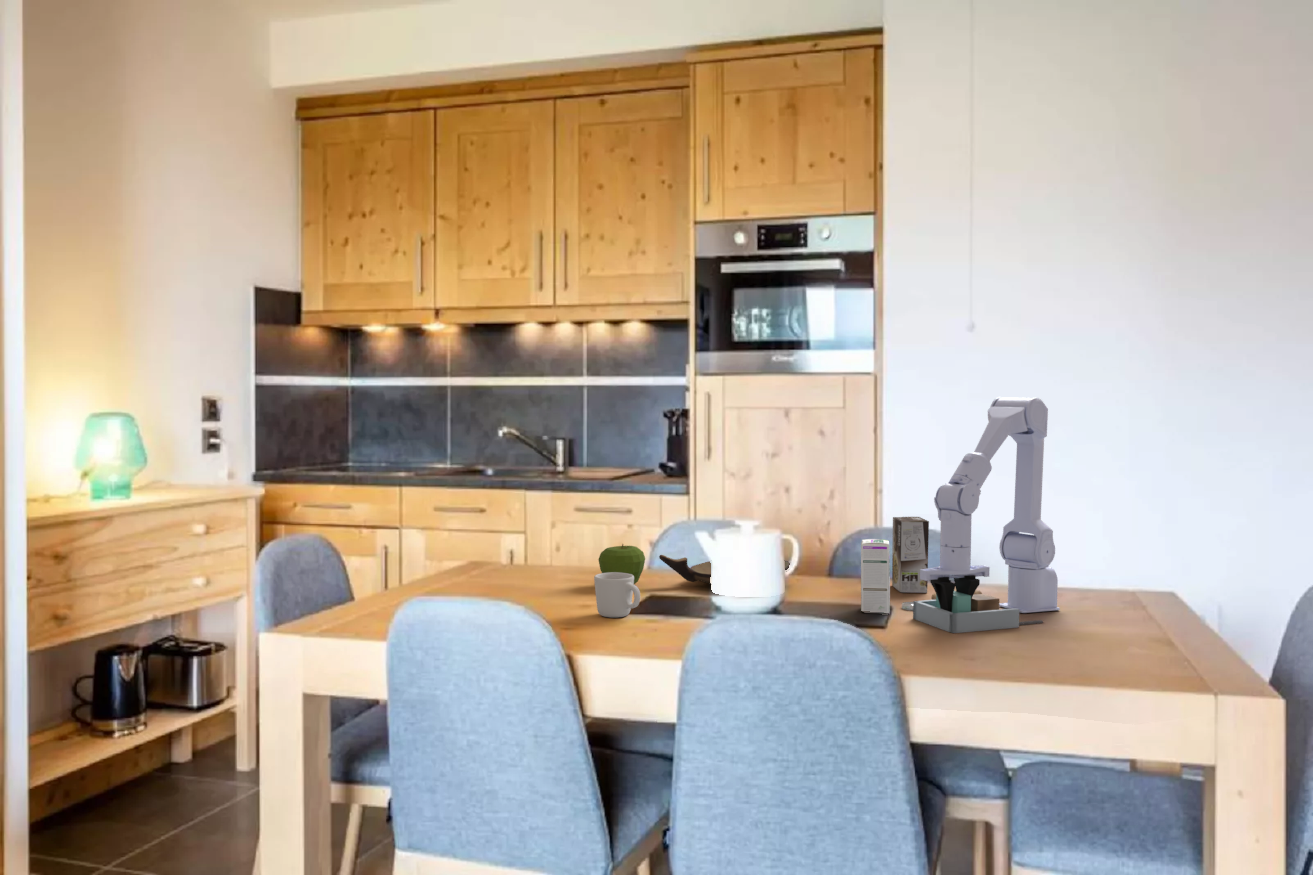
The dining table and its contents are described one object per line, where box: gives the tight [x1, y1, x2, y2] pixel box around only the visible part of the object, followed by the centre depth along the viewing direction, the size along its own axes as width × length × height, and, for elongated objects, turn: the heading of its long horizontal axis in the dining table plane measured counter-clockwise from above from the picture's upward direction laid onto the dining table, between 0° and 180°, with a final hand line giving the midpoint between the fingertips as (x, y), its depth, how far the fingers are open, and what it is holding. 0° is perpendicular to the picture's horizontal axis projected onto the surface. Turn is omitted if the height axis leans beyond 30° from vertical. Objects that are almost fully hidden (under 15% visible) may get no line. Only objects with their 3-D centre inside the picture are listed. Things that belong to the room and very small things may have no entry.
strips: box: [1019, 619, 1044, 626], centre depth 211 cm, size 6×10×1 cm, turn 20°
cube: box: [971, 593, 1000, 612], centre depth 208 cm, size 5×5×5 cm
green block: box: [936, 590, 971, 613], centre depth 207 cm, size 3×7×6 cm, turn 20°
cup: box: [593, 572, 641, 619], centre depth 211 cm, size 11×8×8 cm
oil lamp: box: [658, 554, 791, 585], centre depth 246 cm, size 22×30×8 cm
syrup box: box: [860, 538, 891, 614], centre depth 217 cm, size 6×6×14 cm
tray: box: [912, 599, 1020, 634], centre depth 207 cm, size 15×13×4 cm
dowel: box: [930, 589, 983, 600], centre depth 228 cm, size 12×2×2 cm, turn 110°
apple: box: [597, 543, 646, 585], centre depth 242 cm, size 11×10×10 cm
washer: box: [901, 601, 913, 612], centre depth 221 cm, size 4×4×1 cm
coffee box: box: [891, 516, 930, 594], centre depth 241 cm, size 9×6×16 cm
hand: (954, 615), depth 206 cm, fingers closed on green block, 3 cm apart
